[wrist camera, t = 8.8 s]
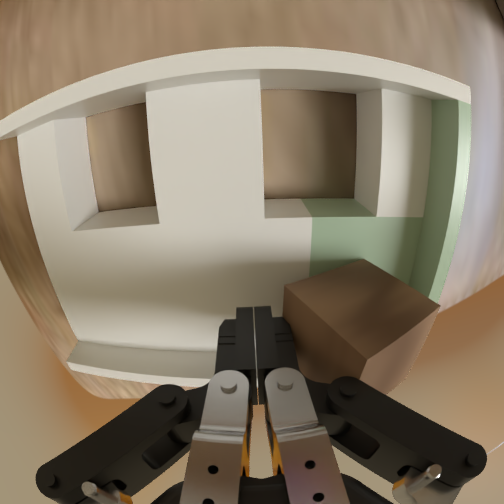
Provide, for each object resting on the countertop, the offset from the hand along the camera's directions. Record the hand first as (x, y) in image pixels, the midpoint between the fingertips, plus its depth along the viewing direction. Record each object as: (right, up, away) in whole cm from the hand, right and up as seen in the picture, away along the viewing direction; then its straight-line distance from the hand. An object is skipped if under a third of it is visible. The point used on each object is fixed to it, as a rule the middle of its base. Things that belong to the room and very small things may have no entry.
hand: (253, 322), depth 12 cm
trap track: (-2, +5, +3) cm, 6 cm away
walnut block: (+3, 0, 0) cm, 3 cm away
